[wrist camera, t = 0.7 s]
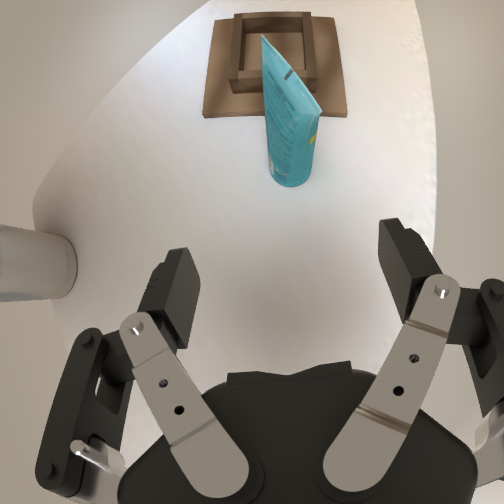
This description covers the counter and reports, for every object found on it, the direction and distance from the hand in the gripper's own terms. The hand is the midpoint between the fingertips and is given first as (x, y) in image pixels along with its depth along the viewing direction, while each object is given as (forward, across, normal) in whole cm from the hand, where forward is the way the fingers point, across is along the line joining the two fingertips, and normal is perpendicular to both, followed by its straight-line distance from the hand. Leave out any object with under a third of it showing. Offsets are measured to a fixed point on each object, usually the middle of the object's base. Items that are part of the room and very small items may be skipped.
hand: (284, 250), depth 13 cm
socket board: (+35, -2, -6) cm, 36 cm away
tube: (+25, -1, +7) cm, 26 cm away
